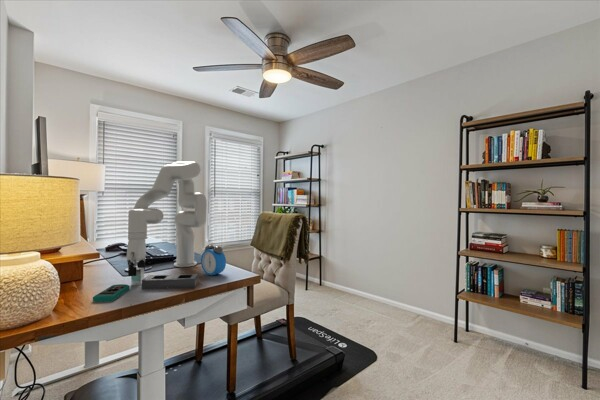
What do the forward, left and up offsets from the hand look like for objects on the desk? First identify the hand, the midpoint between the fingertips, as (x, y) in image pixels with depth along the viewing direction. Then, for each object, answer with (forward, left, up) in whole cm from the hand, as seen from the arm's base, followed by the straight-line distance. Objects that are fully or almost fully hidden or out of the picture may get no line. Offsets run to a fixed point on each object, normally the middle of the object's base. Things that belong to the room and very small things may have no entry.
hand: (136, 273), depth 132 cm
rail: (+4, +16, -5) cm, 18 cm away
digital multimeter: (+15, -4, -6) cm, 16 cm away
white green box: (-1, 0, -5) cm, 5 cm away
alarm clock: (-13, +32, -5) cm, 35 cm away
